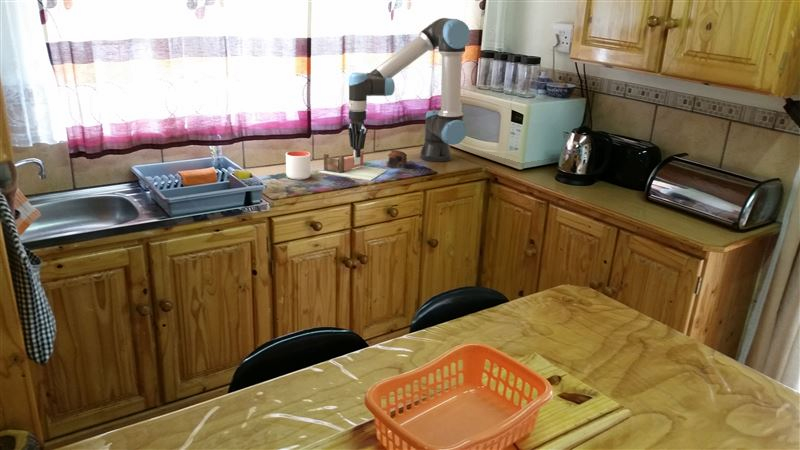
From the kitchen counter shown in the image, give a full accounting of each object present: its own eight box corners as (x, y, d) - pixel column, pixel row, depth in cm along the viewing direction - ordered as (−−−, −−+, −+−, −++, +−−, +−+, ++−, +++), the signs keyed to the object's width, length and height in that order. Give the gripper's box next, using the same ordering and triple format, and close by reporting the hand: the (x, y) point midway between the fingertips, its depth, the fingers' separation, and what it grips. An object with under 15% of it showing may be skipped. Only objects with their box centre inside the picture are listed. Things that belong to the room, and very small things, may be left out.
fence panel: (344, 171, 275) (344, 156, 272) (341, 170, 275) (342, 155, 273) (363, 165, 285) (363, 151, 283) (360, 165, 286) (360, 150, 284)
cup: (307, 173, 272) (307, 150, 269) (312, 179, 263) (312, 156, 260) (284, 174, 269) (284, 151, 266) (288, 181, 260) (287, 157, 257)
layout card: (387, 170, 283) (387, 169, 282) (370, 180, 266) (370, 179, 266) (337, 163, 291) (337, 162, 290) (318, 172, 274) (318, 171, 274)
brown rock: (380, 166, 292) (386, 149, 293) (397, 173, 297) (402, 156, 298) (395, 165, 282) (400, 147, 283) (411, 173, 287) (417, 155, 288)
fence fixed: (344, 173, 275) (344, 156, 272) (342, 174, 273) (342, 157, 271) (325, 170, 278) (325, 153, 275) (323, 171, 276) (323, 154, 274)
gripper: (342, 108, 274) (341, 162, 282) (358, 112, 265) (357, 168, 272) (356, 107, 279) (356, 160, 286) (373, 111, 269) (371, 166, 277)
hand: (356, 164), depth 279 cm, fingers closed
